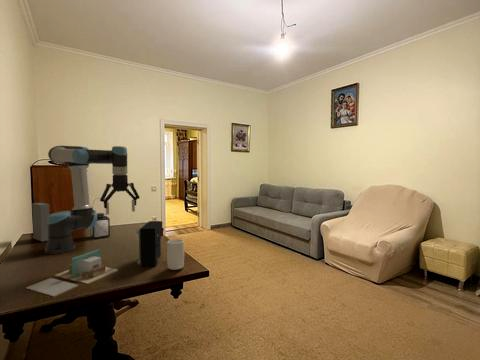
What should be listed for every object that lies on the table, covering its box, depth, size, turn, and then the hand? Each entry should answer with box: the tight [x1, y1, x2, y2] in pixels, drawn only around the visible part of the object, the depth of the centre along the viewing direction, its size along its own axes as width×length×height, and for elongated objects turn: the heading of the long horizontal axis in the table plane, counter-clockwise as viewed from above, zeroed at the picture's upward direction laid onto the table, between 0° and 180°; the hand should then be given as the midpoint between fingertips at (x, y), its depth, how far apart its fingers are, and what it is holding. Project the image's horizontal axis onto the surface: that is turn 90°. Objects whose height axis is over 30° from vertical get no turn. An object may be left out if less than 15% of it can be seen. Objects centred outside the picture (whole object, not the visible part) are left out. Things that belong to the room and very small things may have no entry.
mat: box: [25, 277, 79, 298], centre depth 110 cm, size 18×10×1 cm, turn 68°
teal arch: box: [71, 249, 101, 277], centre depth 124 cm, size 2×13×9 cm, turn 158°
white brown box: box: [77, 255, 102, 277], centre depth 124 cm, size 13×6×7 cm, turn 68°
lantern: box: [89, 198, 111, 240], centre depth 190 cm, size 11×11×28 cm
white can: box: [166, 238, 185, 271], centre depth 130 cm, size 8×8×14 cm
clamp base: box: [54, 263, 119, 285], centre depth 125 cm, size 22×16×4 cm
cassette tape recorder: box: [31, 202, 51, 243], centre depth 180 cm, size 14×6×25 cm, turn 58°
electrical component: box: [136, 220, 165, 268], centre depth 141 cm, size 18×10×20 cm, turn 5°
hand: (120, 212), depth 144 cm, fingers open, 13 cm apart
